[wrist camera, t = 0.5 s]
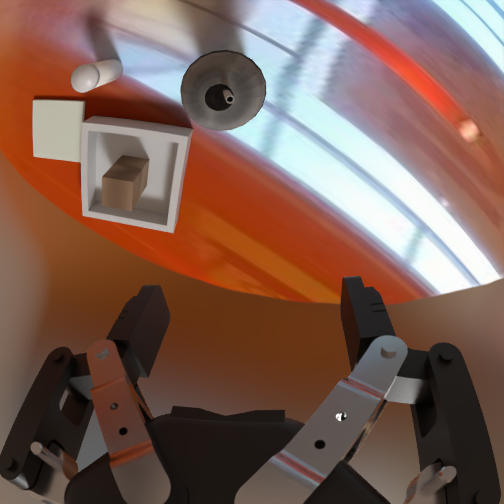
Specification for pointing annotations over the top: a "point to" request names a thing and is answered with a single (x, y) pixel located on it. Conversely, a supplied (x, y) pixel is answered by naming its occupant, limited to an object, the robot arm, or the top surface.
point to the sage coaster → (58, 129)
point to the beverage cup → (223, 90)
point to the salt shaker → (96, 74)
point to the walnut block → (125, 182)
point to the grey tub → (142, 146)
